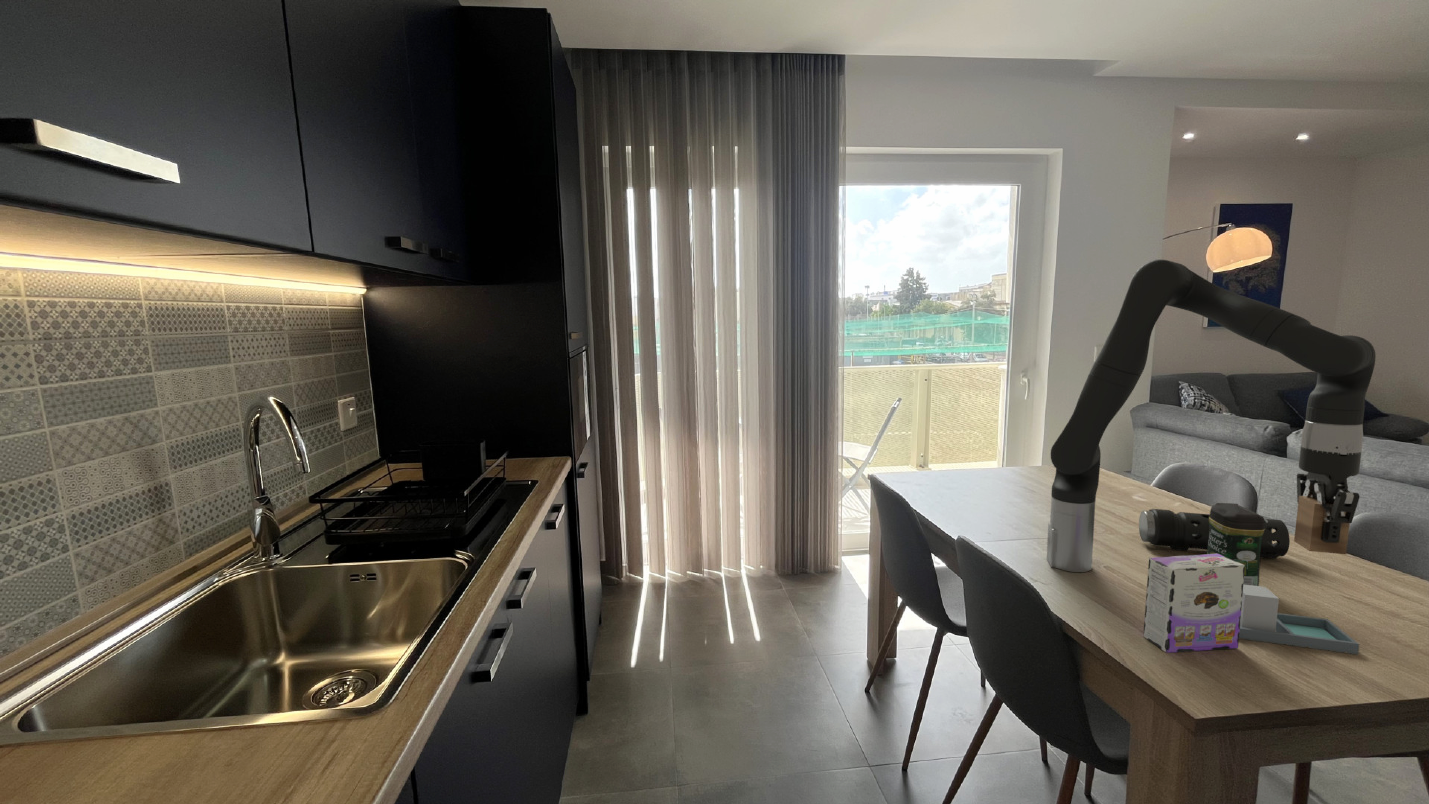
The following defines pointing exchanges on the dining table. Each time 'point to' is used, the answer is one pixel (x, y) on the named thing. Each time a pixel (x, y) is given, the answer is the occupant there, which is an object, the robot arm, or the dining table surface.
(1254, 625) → the divider rack
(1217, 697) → the dining table surface
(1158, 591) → the candy box
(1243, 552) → the coffee jar
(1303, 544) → the walnut plug
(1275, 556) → the muzzle brake
